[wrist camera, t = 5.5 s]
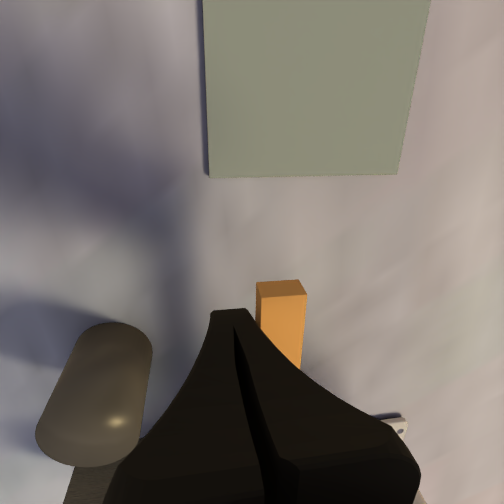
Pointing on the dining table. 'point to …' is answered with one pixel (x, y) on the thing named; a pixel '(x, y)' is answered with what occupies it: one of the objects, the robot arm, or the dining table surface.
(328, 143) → the mat
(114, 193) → the dining table surface
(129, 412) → the plug
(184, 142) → the dining table surface
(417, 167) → the dining table surface
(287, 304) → the bar
